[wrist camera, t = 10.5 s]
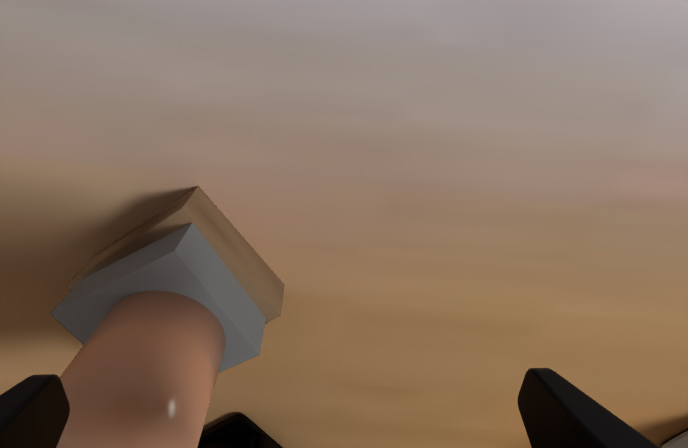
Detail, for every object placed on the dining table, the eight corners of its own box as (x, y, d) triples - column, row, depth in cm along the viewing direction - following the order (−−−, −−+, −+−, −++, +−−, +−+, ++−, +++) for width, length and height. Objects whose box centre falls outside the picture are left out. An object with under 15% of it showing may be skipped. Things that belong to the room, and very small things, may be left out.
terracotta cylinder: (163, 398, 18) (114, 517, 14) (75, 329, 16) (-15, 441, 12) (249, 348, 17) (227, 459, 13) (167, 269, 15) (106, 366, 11)
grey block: (166, 363, 21) (147, 403, 19) (82, 278, 18) (49, 313, 16) (265, 317, 20) (259, 354, 18) (192, 222, 17) (174, 250, 15)
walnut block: (188, 336, 24) (172, 375, 21) (97, 252, 21) (65, 285, 18) (284, 280, 23) (280, 315, 20) (200, 183, 20) (182, 207, 17)
